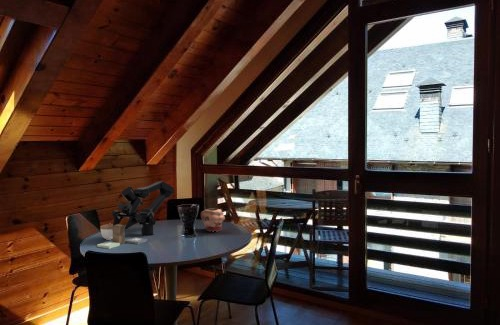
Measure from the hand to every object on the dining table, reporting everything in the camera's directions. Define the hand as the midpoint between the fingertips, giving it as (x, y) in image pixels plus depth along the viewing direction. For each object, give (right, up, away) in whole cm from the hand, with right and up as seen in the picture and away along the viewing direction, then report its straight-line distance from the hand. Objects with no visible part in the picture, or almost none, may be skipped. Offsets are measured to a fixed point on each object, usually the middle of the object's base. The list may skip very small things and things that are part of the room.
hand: (119, 228), depth 219 cm
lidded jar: (-9, -8, +11) cm, 16 cm away
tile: (+9, -8, +3) cm, 12 cm away
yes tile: (-3, -8, -7) cm, 11 cm away
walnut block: (0, -8, 0) cm, 8 cm away
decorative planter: (+49, -7, +32) cm, 59 cm away
